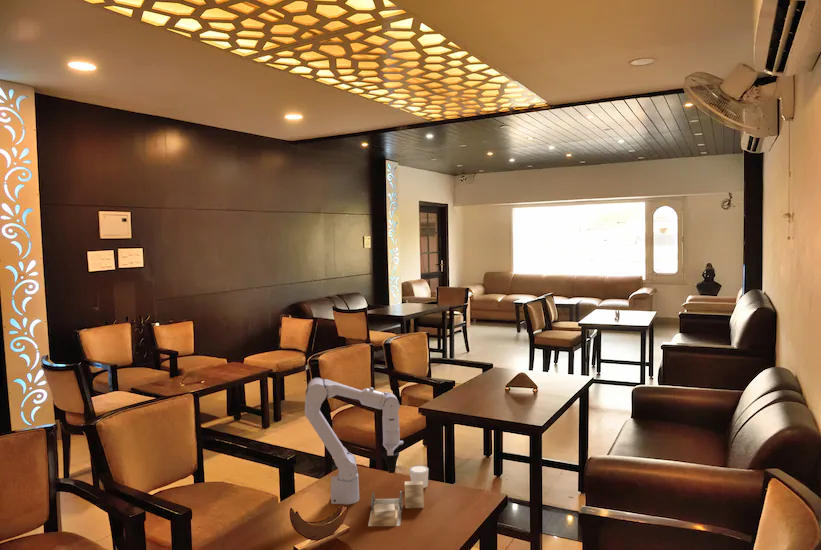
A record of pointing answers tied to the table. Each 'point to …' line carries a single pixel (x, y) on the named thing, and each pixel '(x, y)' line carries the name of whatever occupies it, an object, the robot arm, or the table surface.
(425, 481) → the white cylinder
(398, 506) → the rack
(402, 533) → the table surface
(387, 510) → the offcut upper
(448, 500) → the table surface
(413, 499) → the birch block
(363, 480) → the table surface
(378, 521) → the offcut lower
